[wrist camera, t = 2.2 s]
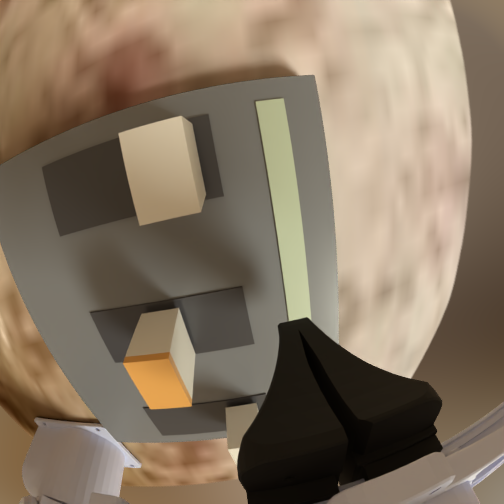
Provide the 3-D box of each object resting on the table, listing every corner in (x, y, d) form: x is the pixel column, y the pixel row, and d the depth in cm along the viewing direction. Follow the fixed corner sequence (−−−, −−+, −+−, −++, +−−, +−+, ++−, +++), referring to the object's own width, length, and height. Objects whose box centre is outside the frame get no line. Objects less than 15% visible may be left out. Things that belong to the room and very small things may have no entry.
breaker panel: (120, 428, 20) (109, 476, 15) (-2, 171, 11) (-61, 189, 7) (330, 401, 20) (350, 452, 15) (304, 81, 12) (349, 52, 7)
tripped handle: (160, 358, 15) (150, 409, 11) (141, 313, 13) (122, 363, 10) (195, 353, 15) (191, 406, 11) (178, 307, 13) (168, 358, 10)
